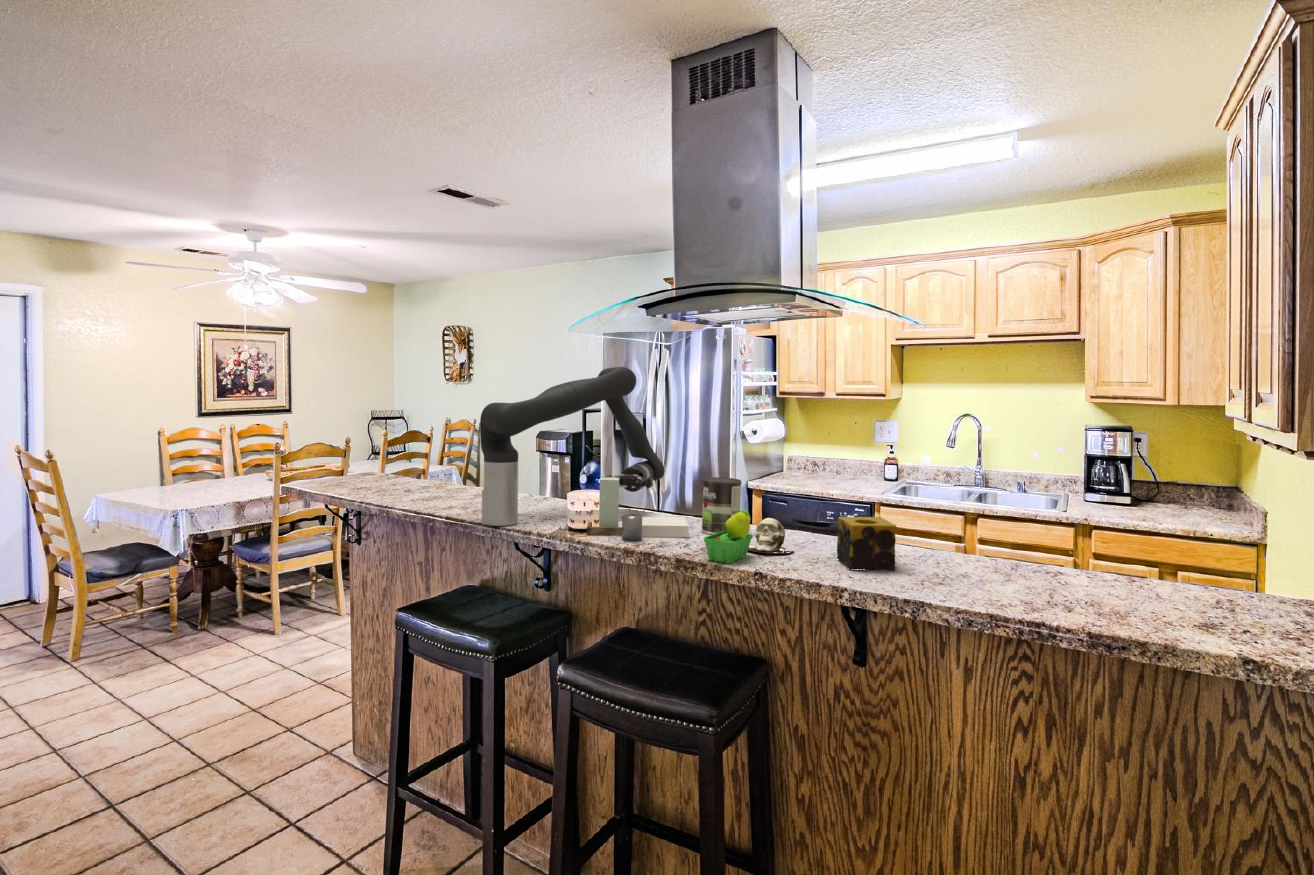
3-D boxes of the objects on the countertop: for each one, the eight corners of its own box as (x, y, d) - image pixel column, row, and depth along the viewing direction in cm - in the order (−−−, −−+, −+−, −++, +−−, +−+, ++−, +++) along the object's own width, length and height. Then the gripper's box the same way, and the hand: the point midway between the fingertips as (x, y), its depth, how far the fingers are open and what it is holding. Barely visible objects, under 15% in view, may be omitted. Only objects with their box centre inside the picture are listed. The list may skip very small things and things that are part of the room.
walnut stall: (586, 535, 177) (586, 527, 176) (588, 527, 187) (589, 519, 187) (629, 535, 177) (629, 527, 177) (629, 527, 188) (629, 520, 187)
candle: (879, 560, 156) (881, 516, 156) (896, 571, 146) (898, 525, 146) (835, 559, 156) (837, 516, 155) (849, 571, 146) (851, 524, 145)
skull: (789, 554, 155) (760, 518, 158) (756, 580, 159) (729, 544, 162) (804, 543, 166) (777, 509, 168) (773, 567, 170) (748, 534, 173)
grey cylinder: (621, 541, 170) (622, 517, 170) (621, 537, 175) (622, 513, 175) (642, 541, 170) (642, 517, 170) (641, 537, 175) (642, 514, 175)
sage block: (599, 533, 180) (599, 479, 179) (599, 529, 185) (600, 477, 184) (618, 533, 180) (619, 480, 179) (618, 529, 185) (619, 477, 184)
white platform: (637, 536, 176) (637, 525, 175) (636, 527, 188) (637, 516, 187) (688, 537, 176) (688, 525, 176) (684, 528, 188) (684, 517, 188)
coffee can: (713, 536, 178) (715, 482, 177) (694, 529, 187) (696, 478, 186) (747, 534, 182) (749, 481, 181) (727, 527, 192) (728, 476, 191)
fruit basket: (723, 551, 162) (724, 503, 161) (758, 556, 157) (760, 507, 157) (701, 560, 152) (702, 510, 151) (738, 566, 148) (739, 514, 147)
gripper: (613, 464, 210) (597, 470, 194) (658, 466, 207) (646, 472, 191) (613, 488, 210) (597, 497, 194) (658, 490, 207) (646, 499, 191)
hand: (621, 484), depth 193 cm, fingers open, 8 cm apart
